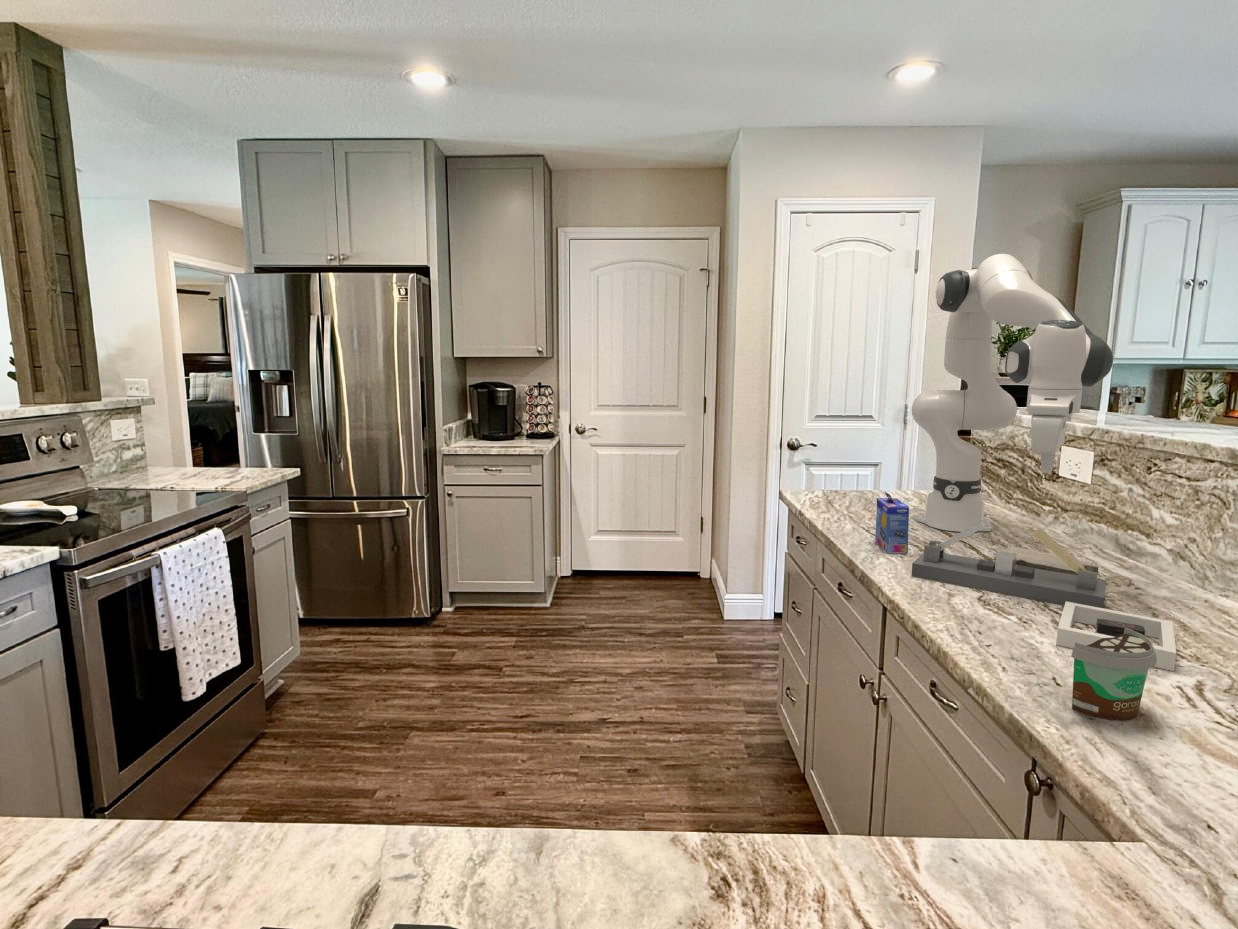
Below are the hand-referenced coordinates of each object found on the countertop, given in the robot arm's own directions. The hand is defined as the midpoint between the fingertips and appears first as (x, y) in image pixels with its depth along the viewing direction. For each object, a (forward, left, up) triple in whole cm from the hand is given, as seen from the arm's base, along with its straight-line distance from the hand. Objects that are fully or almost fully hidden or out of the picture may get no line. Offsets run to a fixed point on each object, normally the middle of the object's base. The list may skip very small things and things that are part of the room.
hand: (1046, 472), depth 127 cm
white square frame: (+20, +13, -25) cm, 35 cm away
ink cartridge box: (-13, -33, -25) cm, 43 cm away
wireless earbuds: (+19, +15, -26) cm, 35 cm away
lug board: (0, -6, -25) cm, 26 cm away
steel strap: (0, -15, -17) cm, 23 cm away
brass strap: (0, +4, -17) cm, 18 cm away
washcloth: (-19, -1, -26) cm, 32 cm away
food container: (+47, +14, -25) cm, 55 cm away
